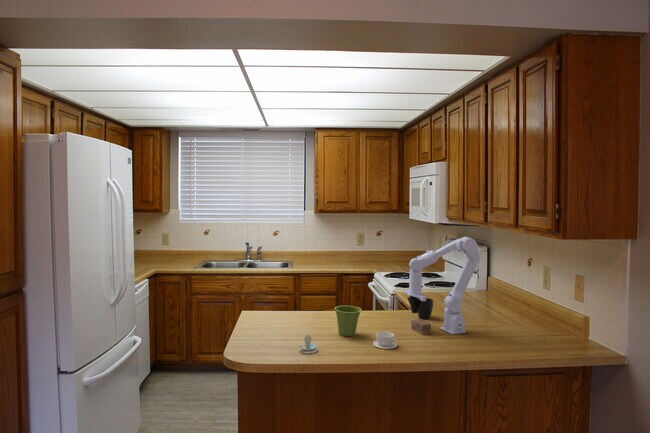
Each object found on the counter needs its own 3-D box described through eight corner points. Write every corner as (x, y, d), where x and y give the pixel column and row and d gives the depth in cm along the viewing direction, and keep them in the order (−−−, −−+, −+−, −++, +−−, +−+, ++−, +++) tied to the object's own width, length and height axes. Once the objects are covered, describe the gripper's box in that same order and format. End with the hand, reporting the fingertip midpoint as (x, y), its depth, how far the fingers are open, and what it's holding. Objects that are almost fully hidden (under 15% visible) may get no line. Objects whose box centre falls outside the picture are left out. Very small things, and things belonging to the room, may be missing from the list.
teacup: (367, 345, 171) (368, 333, 171) (382, 339, 178) (382, 329, 178) (387, 351, 164) (387, 340, 163) (401, 346, 171) (402, 334, 170)
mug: (420, 313, 222) (421, 295, 221) (435, 319, 211) (436, 300, 210) (408, 314, 218) (409, 296, 218) (422, 320, 207) (423, 302, 207)
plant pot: (352, 340, 175) (353, 313, 175) (328, 334, 182) (329, 309, 181) (365, 333, 186) (366, 308, 185) (342, 328, 192) (342, 304, 191)
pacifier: (320, 353, 160) (313, 347, 166) (321, 337, 160) (314, 332, 165) (302, 355, 157) (296, 350, 162) (303, 339, 157) (297, 334, 162)
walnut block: (418, 327, 195) (430, 333, 187) (410, 328, 194) (422, 334, 185) (419, 318, 195) (430, 324, 187) (411, 319, 193) (422, 324, 185)
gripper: (399, 281, 200) (398, 309, 200) (417, 287, 186) (416, 317, 187) (411, 280, 202) (411, 308, 203) (430, 286, 189) (429, 316, 189)
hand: (414, 312), depth 195 cm, fingers closed
